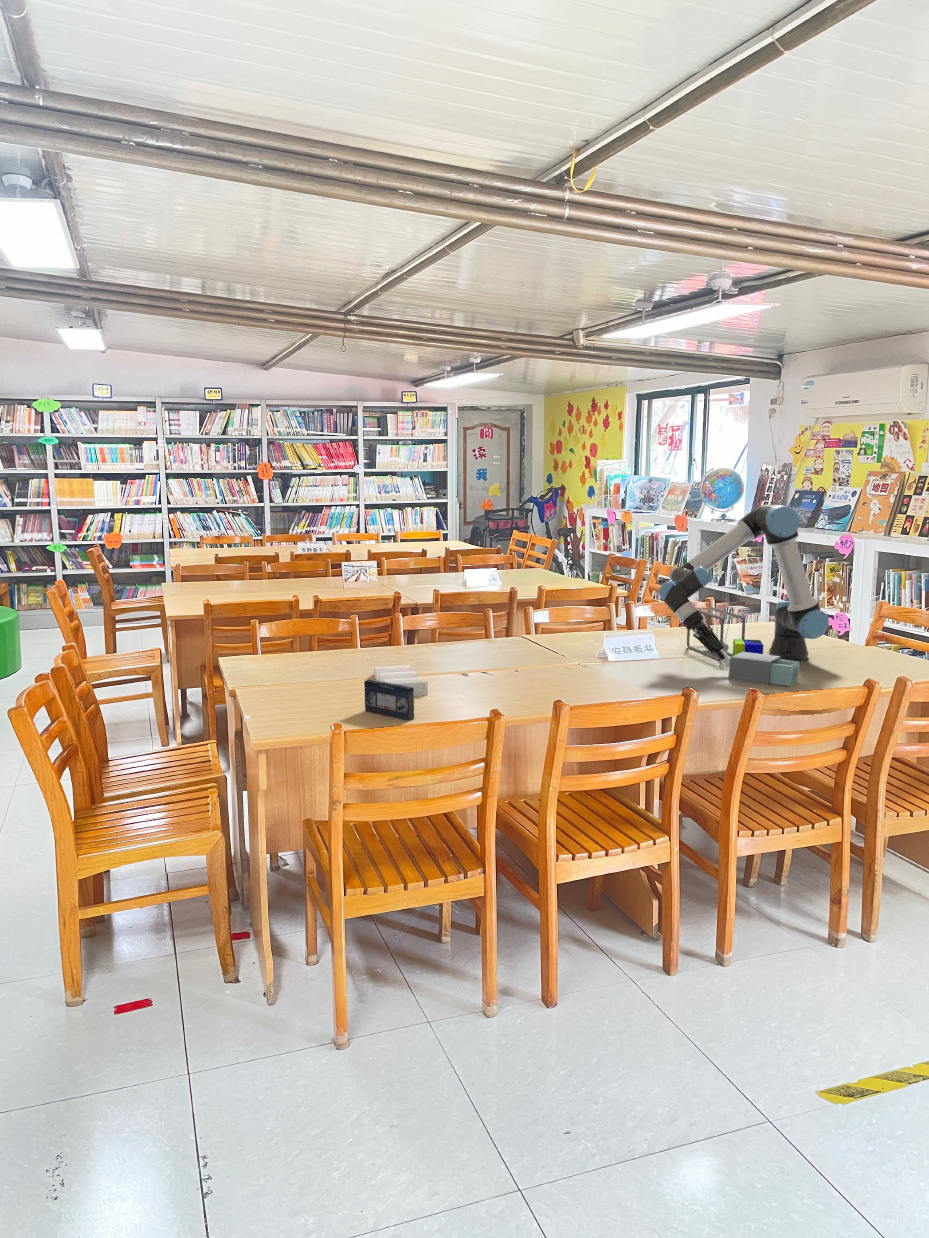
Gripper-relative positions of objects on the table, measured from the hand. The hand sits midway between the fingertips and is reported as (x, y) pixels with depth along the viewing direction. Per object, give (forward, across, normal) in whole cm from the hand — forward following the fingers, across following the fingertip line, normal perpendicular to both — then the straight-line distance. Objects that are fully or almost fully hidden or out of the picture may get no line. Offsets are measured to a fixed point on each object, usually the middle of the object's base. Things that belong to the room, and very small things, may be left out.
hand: (730, 665), depth 324 cm
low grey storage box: (+9, 0, +4) cm, 10 cm away
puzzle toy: (+3, -18, -3) cm, 18 cm away
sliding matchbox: (+11, 0, +6) cm, 13 cm away
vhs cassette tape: (-42, +117, -48) cm, 134 cm away
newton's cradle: (-11, -35, -17) cm, 41 cm away
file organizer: (-59, +85, -66) cm, 123 cm away
